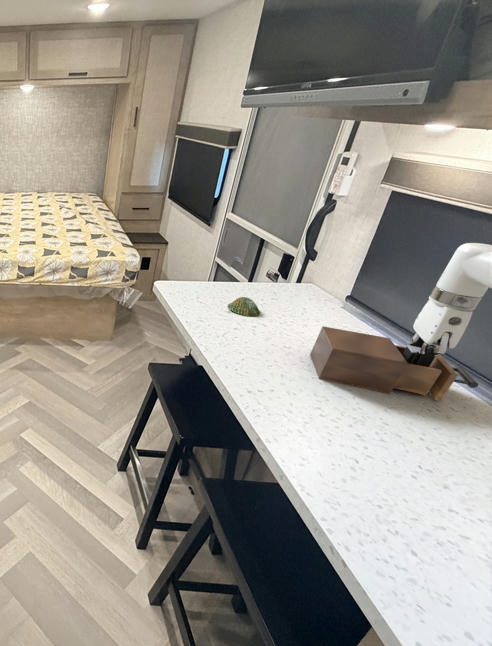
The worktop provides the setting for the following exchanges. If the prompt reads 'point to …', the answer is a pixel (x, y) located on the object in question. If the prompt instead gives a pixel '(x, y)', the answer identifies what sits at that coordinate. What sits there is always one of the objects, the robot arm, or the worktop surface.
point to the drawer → (432, 377)
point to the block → (411, 353)
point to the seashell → (244, 307)
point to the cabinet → (357, 359)
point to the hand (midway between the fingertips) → (414, 361)
